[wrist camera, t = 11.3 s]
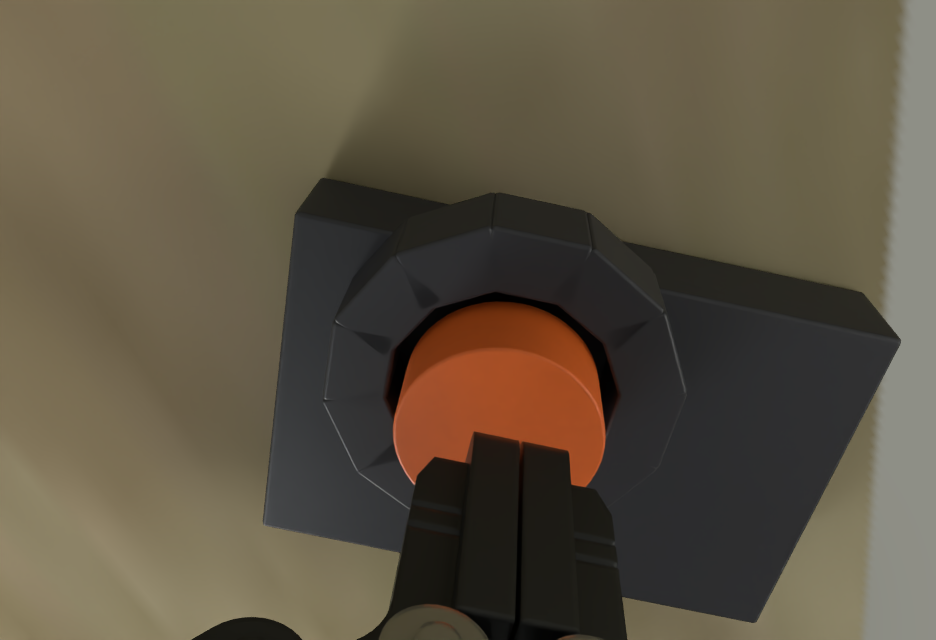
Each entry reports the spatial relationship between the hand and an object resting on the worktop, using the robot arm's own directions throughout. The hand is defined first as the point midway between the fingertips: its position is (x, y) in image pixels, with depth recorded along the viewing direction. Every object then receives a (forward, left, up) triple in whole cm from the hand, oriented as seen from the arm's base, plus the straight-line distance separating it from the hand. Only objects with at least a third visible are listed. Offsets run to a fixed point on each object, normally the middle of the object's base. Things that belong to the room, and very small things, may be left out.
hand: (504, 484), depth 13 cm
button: (0, 0, -3) cm, 3 cm away
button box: (-2, -1, -6) cm, 7 cm away
